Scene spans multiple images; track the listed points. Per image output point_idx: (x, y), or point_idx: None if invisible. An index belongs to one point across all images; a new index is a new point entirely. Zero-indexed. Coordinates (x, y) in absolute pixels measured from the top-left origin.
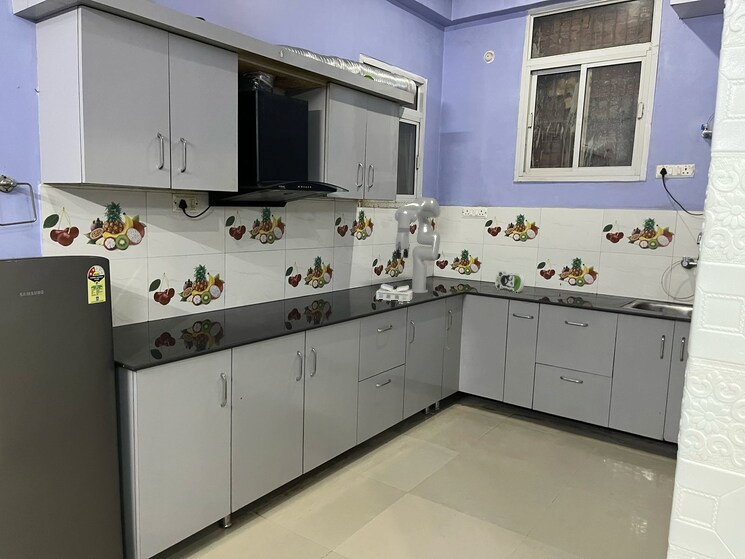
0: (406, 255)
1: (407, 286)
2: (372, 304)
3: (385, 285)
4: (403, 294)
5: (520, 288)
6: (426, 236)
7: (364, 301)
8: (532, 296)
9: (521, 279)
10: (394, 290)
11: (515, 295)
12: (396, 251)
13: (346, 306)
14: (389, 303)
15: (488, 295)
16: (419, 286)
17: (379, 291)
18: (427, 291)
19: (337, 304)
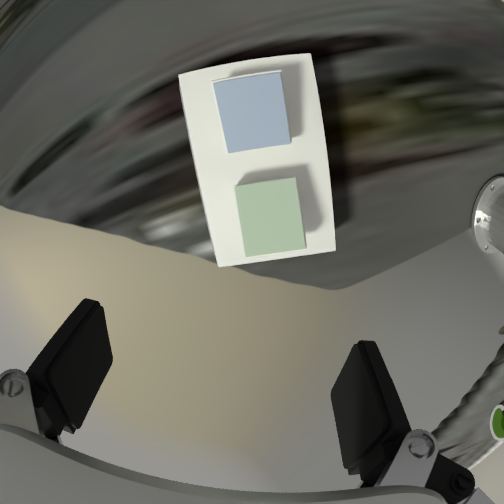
0: (342, 410)
1: (267, 253)
2: (67, 136)
3: (229, 105)
4: (209, 233)
5: (490, 423)
6: None
7: (105, 71)
8: (460, 436)
9: (495, 438)
10: (286, 153)
11: (469, 419)
12: (4, 383)
13: (3, 93)
14: (128, 183)
15: (466, 394)
16: (494, 233)
17: (186, 90)
18: (491, 253)
19: (16, 50)
